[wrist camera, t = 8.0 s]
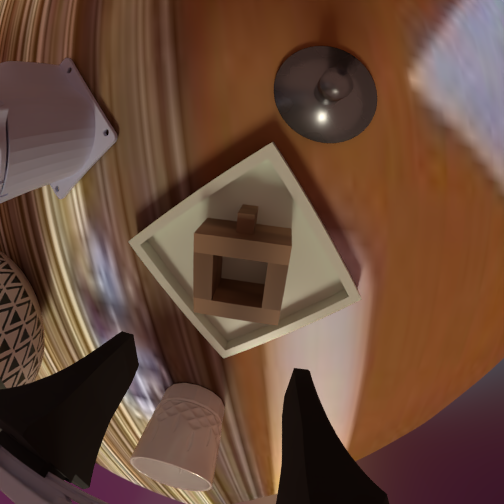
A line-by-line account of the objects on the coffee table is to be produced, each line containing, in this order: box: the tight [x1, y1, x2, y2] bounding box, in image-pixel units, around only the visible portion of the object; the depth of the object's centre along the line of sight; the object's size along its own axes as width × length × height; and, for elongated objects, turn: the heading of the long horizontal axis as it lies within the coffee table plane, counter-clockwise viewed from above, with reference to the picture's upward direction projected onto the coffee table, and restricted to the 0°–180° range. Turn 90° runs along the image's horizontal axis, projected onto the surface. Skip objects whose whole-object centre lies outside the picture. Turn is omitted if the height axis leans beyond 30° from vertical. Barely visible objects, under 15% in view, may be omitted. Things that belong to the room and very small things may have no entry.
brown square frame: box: [193, 204, 292, 326], centre depth 18 cm, size 6×7×3 cm
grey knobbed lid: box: [274, 46, 377, 143], centre depth 13 cm, size 6×6×4 cm
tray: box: [128, 142, 361, 358], centre depth 20 cm, size 12×12×2 cm
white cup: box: [130, 383, 225, 491], centre depth 24 cm, size 8×8×10 cm
